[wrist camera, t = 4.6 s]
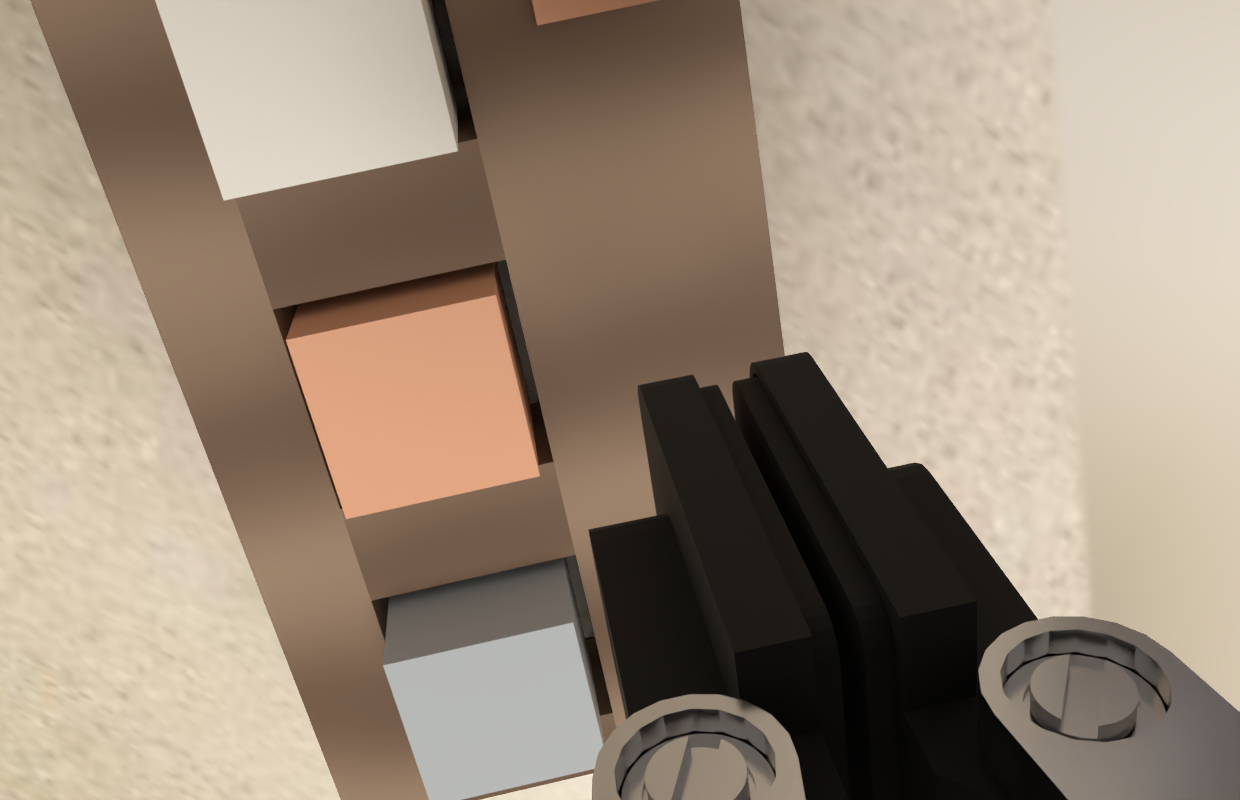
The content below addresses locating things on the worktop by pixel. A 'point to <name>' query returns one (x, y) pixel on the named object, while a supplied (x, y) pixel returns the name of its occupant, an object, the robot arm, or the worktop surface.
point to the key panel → (433, 244)
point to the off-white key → (311, 87)
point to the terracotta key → (415, 389)
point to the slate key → (494, 681)
